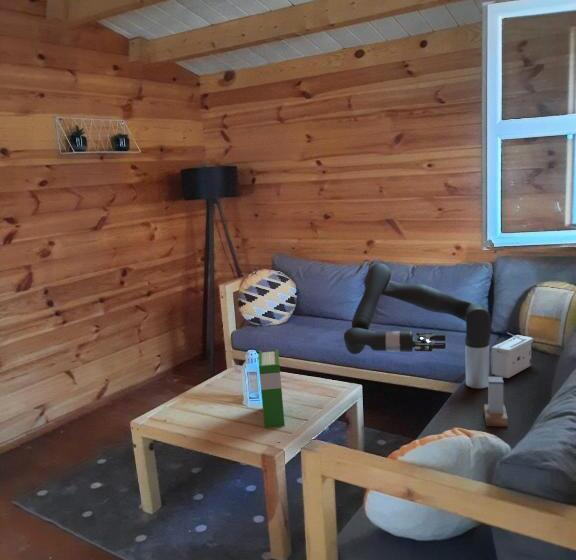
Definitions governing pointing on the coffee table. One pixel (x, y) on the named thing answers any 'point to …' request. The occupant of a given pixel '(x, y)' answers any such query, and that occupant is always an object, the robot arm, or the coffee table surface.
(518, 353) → the stereo radio cassette player
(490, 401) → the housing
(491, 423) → the stand
